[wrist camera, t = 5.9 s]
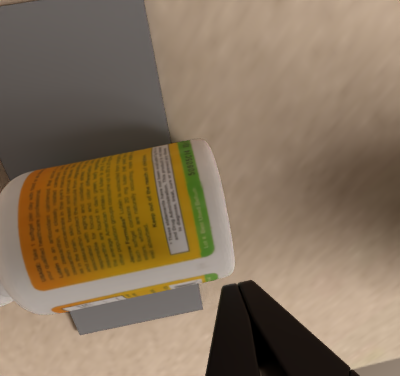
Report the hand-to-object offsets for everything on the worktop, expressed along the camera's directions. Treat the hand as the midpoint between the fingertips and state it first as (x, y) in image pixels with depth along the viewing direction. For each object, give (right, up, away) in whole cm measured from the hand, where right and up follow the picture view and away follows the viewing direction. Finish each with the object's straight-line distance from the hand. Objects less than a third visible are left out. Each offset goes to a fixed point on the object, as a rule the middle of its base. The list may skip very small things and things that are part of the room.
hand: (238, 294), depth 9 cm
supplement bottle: (0, +2, +4) cm, 5 cm away
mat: (-5, +3, +6) cm, 9 cm away
